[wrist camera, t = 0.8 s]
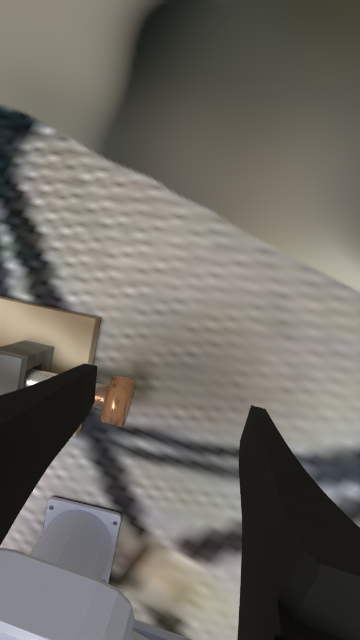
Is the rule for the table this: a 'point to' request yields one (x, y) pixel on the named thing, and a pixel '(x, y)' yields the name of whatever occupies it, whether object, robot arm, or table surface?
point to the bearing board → (42, 341)
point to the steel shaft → (100, 395)
